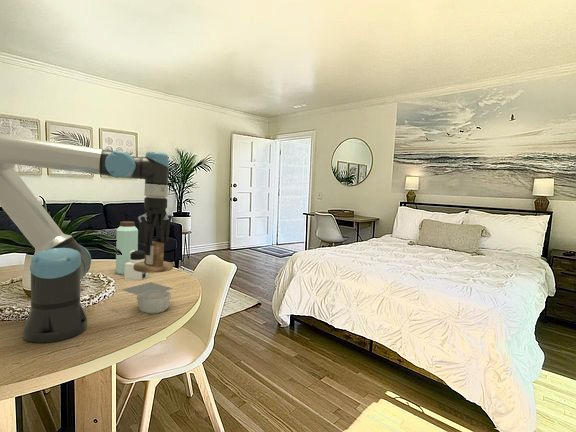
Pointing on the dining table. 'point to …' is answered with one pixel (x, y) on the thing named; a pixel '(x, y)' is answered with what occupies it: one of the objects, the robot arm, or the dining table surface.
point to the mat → (146, 288)
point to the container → (130, 273)
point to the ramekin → (154, 301)
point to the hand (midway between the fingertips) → (153, 262)
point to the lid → (155, 261)
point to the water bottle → (125, 244)
